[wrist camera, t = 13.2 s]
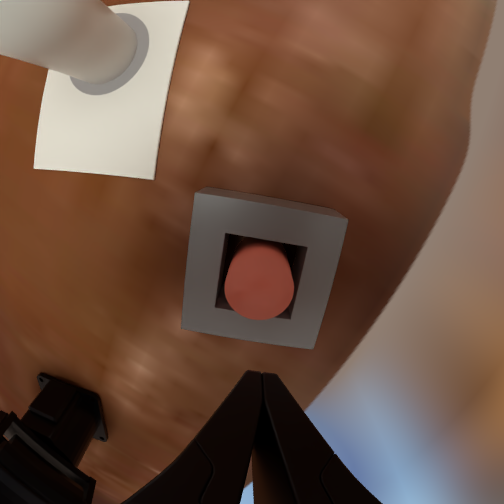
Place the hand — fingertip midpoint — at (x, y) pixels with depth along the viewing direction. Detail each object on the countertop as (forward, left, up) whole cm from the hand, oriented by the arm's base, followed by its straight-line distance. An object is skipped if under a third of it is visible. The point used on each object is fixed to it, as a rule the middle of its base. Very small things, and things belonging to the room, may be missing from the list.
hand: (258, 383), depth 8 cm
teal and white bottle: (+11, +11, -10) cm, 19 cm away
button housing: (0, 0, -10) cm, 10 cm away
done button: (0, 0, -10) cm, 10 cm away
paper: (+9, +11, -10) cm, 18 cm away
